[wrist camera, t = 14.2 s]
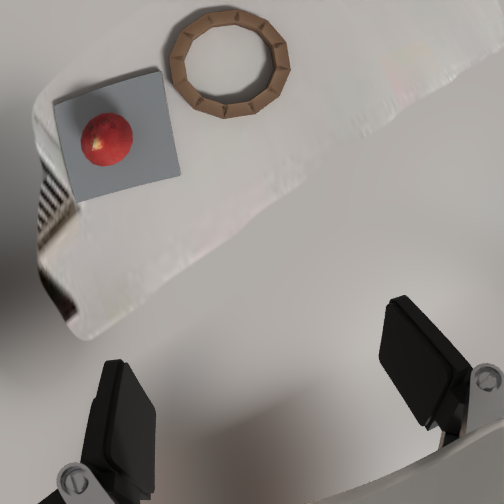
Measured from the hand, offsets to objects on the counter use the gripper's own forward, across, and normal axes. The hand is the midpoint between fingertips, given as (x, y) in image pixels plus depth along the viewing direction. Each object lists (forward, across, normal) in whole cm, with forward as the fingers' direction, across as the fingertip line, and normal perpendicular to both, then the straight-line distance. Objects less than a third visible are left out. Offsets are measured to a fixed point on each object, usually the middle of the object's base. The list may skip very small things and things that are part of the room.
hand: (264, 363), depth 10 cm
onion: (+29, +11, -8) cm, 32 cm away
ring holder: (+30, -4, -14) cm, 34 cm away
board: (+30, +11, -8) cm, 33 cm away
